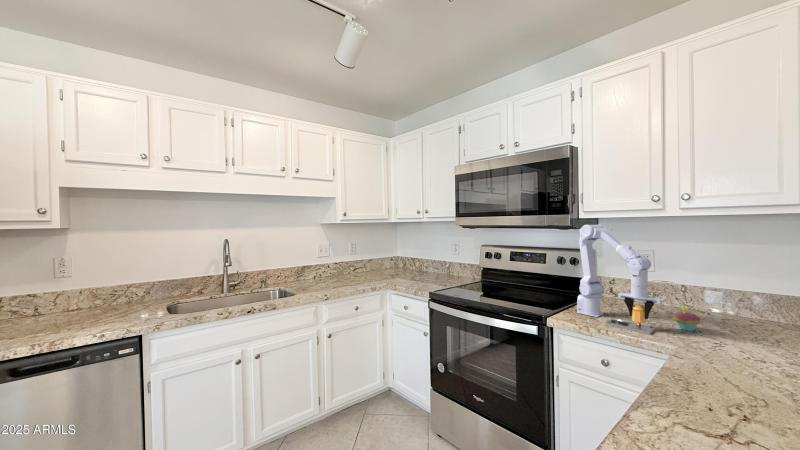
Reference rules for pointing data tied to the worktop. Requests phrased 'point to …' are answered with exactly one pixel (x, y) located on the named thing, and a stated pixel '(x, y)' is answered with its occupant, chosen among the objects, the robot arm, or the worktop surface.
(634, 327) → the plate
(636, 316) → the acorn cap nut
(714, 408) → the worktop surface
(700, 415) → the worktop surface
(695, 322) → the cupcake
